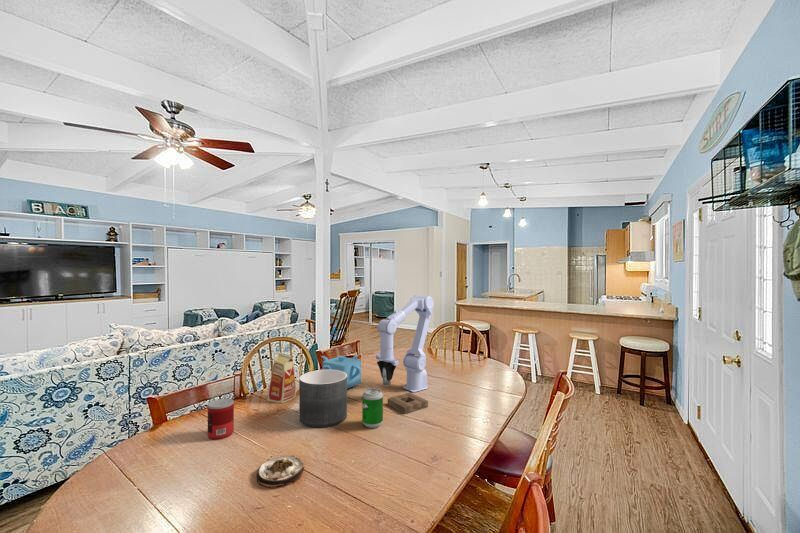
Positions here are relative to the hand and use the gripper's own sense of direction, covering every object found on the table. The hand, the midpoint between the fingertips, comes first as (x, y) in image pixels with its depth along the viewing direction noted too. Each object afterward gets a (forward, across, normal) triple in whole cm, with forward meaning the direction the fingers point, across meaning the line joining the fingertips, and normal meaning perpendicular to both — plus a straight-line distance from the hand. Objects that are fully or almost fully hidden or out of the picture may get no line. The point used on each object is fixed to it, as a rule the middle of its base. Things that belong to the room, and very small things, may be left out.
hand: (386, 378), depth 153 cm
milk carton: (+9, -27, -36) cm, 46 cm away
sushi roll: (+9, +28, -55) cm, 63 cm away
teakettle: (+9, -26, -9) cm, 29 cm away
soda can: (+9, +17, -18) cm, 26 cm away
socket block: (+9, +11, +3) cm, 14 cm away
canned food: (+9, -7, -64) cm, 65 cm away
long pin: (+2, 0, 0) cm, 2 cm away
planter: (+9, +1, -30) cm, 31 cm away
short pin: (+9, -5, -5) cm, 11 cm away
